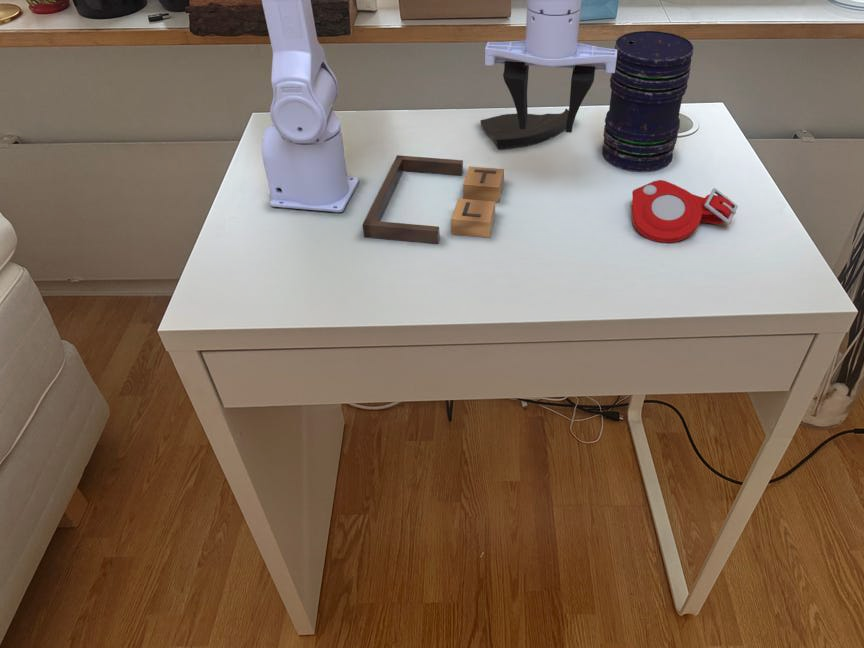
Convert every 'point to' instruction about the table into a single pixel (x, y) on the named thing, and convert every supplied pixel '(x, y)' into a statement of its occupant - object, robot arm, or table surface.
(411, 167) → the frame
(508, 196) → the table surface
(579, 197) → the table surface
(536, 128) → the dark sector wedge
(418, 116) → the table surface
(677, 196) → the tracker holder
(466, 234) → the l tile
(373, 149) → the table surface
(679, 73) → the dark blue barrel
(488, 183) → the t tile
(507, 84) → the robot arm
